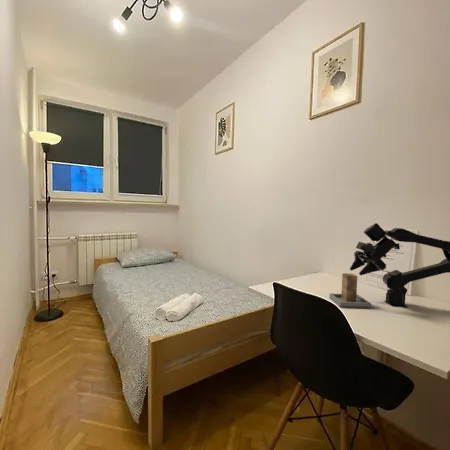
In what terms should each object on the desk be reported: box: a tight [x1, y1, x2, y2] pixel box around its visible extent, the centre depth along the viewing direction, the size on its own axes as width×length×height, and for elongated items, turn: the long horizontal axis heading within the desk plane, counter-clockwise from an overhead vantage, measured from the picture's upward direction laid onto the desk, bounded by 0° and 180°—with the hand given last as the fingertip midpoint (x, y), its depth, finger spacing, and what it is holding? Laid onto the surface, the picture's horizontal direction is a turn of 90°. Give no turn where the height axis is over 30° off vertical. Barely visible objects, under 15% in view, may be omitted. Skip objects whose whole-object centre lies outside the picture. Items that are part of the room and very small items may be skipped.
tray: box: [329, 293, 372, 309], centre depth 113 cm, size 13×12×2 cm
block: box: [340, 272, 358, 302], centre depth 114 cm, size 4×4×12 cm
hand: (354, 272), depth 115 cm, fingers open, 9 cm apart
